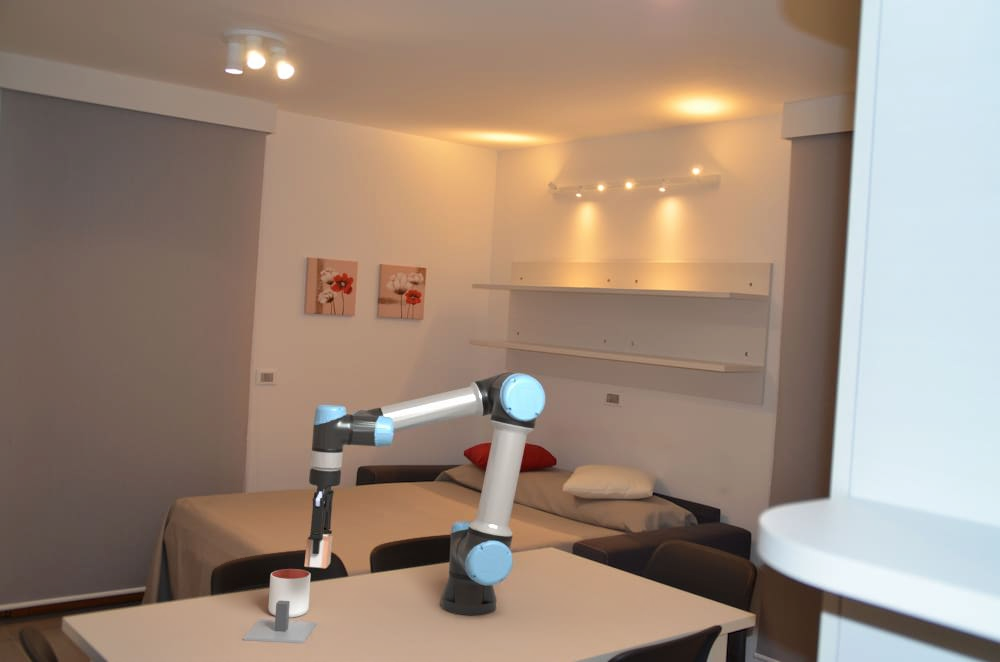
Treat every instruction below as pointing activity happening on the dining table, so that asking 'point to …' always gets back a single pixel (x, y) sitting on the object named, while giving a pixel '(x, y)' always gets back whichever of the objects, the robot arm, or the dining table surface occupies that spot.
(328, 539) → the peach toy cube
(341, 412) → the robot arm
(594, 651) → the dining table surface
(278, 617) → the grey square plate
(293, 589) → the cup
